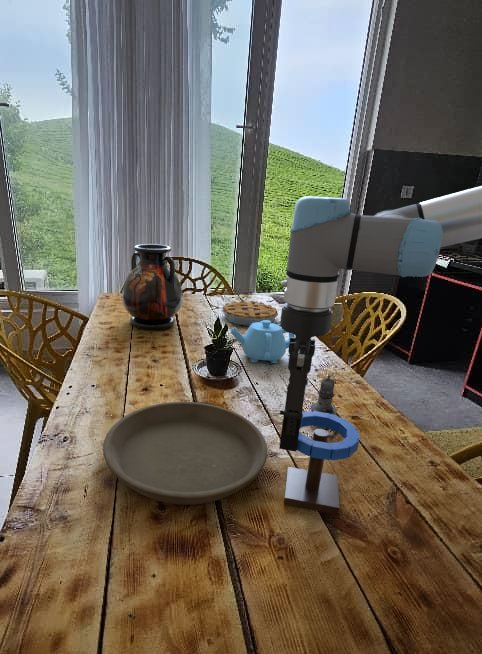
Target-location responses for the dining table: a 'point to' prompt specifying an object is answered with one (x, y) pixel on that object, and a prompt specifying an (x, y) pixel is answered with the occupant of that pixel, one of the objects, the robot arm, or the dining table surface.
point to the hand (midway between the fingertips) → (289, 432)
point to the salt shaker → (325, 398)
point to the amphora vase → (152, 288)
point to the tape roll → (328, 449)
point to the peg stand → (313, 484)
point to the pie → (249, 312)
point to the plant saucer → (185, 452)
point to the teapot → (263, 341)
